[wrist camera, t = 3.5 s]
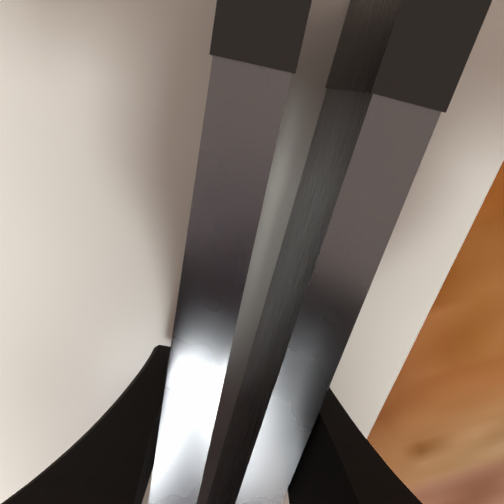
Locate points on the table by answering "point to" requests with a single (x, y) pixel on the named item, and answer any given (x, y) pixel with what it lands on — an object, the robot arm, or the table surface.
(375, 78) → the tongs base
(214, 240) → the tongs arm
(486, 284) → the table surface
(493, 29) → the cutting board
